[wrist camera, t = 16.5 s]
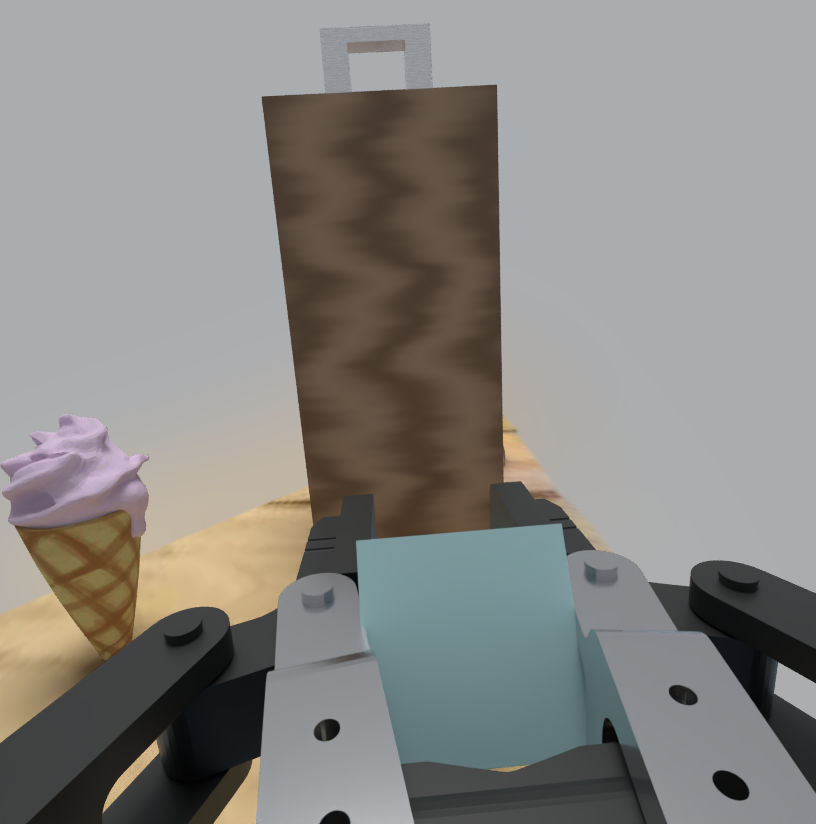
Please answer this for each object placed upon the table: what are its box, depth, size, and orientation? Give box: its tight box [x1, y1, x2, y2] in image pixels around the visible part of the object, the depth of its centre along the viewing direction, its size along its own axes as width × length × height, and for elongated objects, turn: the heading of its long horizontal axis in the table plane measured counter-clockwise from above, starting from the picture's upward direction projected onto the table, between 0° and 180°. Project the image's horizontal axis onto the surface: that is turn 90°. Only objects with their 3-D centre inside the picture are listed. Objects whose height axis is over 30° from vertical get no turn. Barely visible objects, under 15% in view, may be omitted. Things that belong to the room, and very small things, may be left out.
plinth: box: [262, 85, 504, 539], centre depth 39 cm, size 14×12×32 cm
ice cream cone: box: [1, 414, 149, 662], centre depth 28 cm, size 7×6×15 cm
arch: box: [320, 24, 433, 93], centre depth 32 cm, size 7×2×4 cm, turn 93°
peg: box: [356, 523, 587, 769], centre depth 18 cm, size 24×3×3 cm, turn 4°
